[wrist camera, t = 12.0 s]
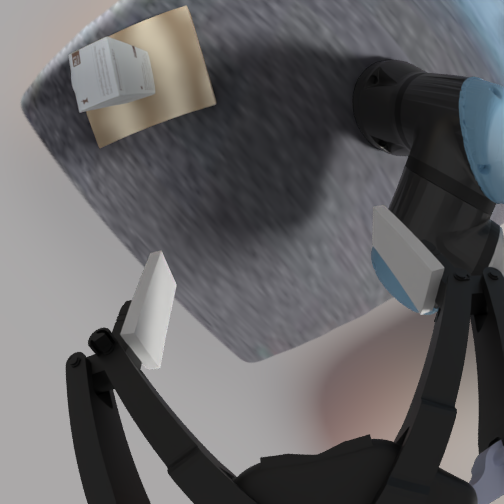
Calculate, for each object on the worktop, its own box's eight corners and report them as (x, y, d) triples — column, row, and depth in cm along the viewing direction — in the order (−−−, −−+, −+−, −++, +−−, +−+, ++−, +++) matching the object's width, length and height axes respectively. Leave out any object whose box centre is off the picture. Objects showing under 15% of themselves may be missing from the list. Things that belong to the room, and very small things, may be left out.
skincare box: (157, 93, 28) (124, 98, 18) (123, 104, 28) (78, 116, 18) (148, 49, 25) (110, 33, 15) (114, 61, 25) (65, 55, 15)
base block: (190, 13, 26) (186, 5, 22) (216, 102, 33) (215, 104, 30) (83, 59, 27) (70, 58, 23) (110, 142, 34) (99, 148, 31)
